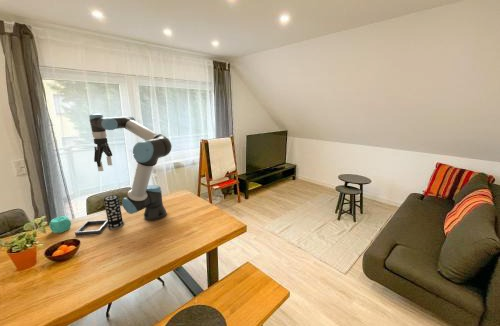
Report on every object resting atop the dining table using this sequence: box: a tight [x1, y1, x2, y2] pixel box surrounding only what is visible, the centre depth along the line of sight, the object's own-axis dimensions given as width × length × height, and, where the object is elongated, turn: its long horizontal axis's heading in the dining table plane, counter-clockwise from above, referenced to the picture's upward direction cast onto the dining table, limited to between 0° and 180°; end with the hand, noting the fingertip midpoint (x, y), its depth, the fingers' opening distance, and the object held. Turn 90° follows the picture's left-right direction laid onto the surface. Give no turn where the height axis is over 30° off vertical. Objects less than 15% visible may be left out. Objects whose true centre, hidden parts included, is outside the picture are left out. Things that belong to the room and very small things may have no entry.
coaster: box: [106, 221, 126, 231], centre depth 148 cm, size 10×10×1 cm
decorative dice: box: [48, 215, 72, 234], centre depth 142 cm, size 8×8×8 cm
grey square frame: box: [74, 219, 108, 237], centre depth 144 cm, size 14×14×2 cm
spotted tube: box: [103, 194, 123, 228], centre depth 145 cm, size 8×8×20 cm
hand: (105, 168), depth 151 cm, fingers open, 13 cm apart
